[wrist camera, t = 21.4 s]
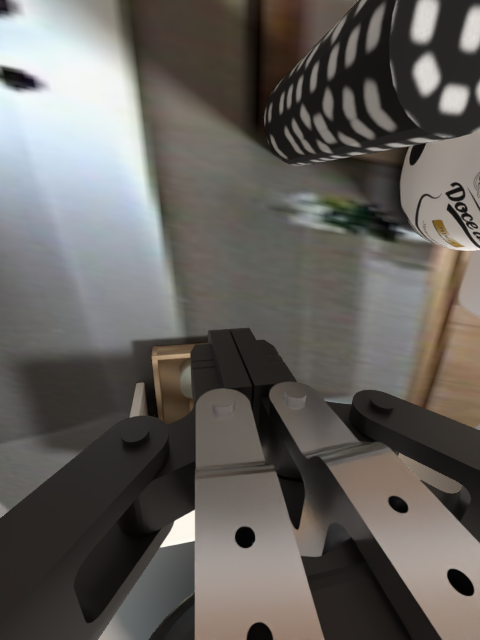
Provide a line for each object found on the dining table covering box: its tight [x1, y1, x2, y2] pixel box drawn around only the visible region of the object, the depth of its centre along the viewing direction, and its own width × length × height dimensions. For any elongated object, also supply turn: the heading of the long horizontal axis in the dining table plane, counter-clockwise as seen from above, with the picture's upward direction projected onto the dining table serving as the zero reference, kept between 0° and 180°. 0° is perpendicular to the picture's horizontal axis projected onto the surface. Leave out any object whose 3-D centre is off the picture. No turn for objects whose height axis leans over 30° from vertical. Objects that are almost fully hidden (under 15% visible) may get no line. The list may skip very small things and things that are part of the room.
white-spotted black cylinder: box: [264, 0, 480, 166], centre depth 22 cm, size 8×8×20 cm
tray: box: [152, 342, 208, 425], centre depth 38 cm, size 16×10×8 cm, turn 178°
